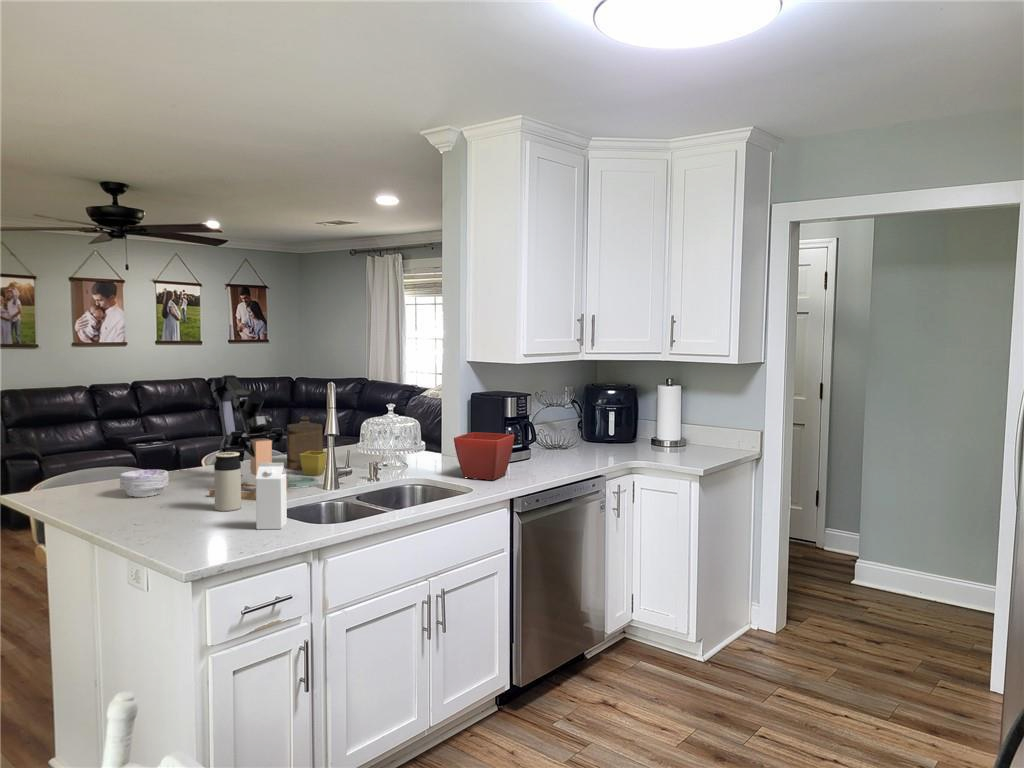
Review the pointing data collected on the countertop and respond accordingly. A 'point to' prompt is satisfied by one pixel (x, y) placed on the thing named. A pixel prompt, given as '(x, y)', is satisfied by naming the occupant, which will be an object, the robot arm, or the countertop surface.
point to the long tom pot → (260, 453)
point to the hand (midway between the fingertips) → (262, 455)
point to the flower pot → (313, 462)
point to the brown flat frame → (246, 494)
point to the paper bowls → (144, 482)
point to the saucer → (302, 481)
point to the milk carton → (271, 496)
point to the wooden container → (302, 441)
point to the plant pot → (484, 454)
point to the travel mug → (227, 481)
